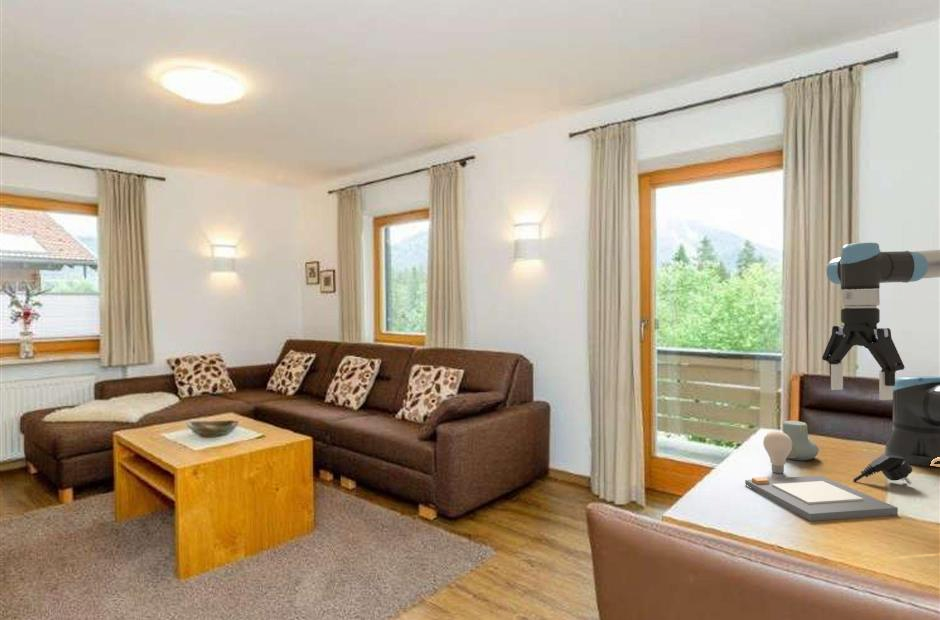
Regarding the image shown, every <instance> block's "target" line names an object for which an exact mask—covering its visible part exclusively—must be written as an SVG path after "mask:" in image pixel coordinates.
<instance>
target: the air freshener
mask: <svg viewBox="0 0 940 620" xmlns="http://www.w3.org/2000/svg"><path fill="white" fill-rule="evenodd" d="M808 431H809V430H808V424H807V422H804V421H800V420H798V421H797V420H784V421H783V422H782V432H783V433H785V434H787V435H788V436H789V437H790V439H791V441H792V450H791V452H790V454H789V455H788V457H787V458H786V459H787V460H788V459H789V460H794V461H809V460H812V459H814V458H816V457H817V455H818V454H819V450H820V449H819V446H818V444H816V443H815V442H814V441H813V440H812V439H810V438H808V437H809V436H808V435H809V433H808Z"/></svg>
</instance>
